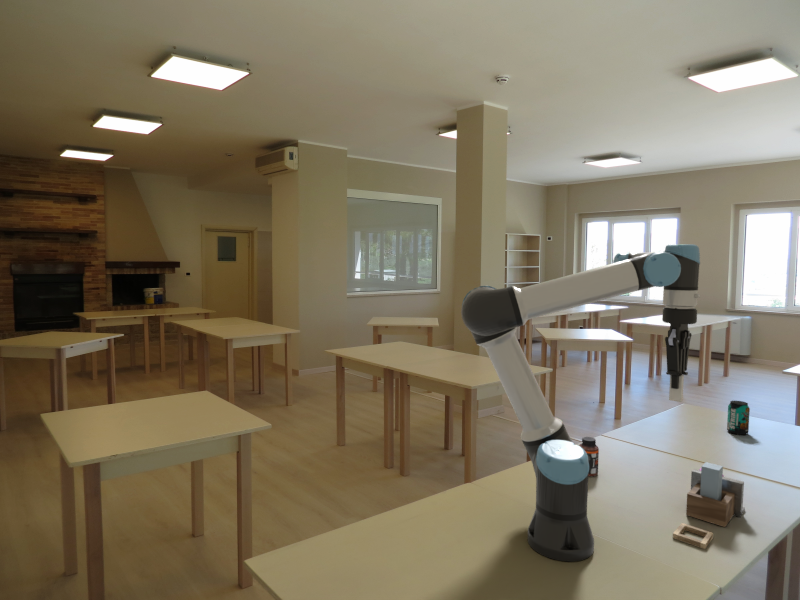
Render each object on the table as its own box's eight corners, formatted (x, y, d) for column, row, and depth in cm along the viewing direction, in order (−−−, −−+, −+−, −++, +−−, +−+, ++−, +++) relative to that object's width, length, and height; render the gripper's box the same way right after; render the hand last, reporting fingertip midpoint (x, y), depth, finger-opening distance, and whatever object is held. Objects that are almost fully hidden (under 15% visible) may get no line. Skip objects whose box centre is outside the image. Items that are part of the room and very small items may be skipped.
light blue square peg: (716, 515, 135) (718, 470, 134) (699, 510, 138) (701, 466, 137) (720, 510, 138) (722, 466, 137) (703, 505, 141) (705, 461, 140)
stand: (705, 549, 122) (705, 544, 122) (672, 538, 127) (673, 533, 127) (713, 537, 127) (713, 533, 127) (681, 527, 132) (681, 522, 132)
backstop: (740, 517, 137) (742, 484, 136) (690, 502, 145) (691, 471, 145) (744, 510, 141) (746, 478, 140) (695, 496, 149) (696, 465, 148)
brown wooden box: (725, 527, 132) (726, 505, 131) (686, 515, 138) (687, 493, 137) (733, 514, 138) (734, 493, 138) (696, 503, 144) (696, 483, 144)
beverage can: (752, 435, 200) (754, 405, 199) (734, 435, 200) (735, 405, 199) (740, 429, 207) (742, 400, 206) (722, 429, 207) (724, 400, 206)
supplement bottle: (599, 478, 161) (600, 442, 160) (579, 476, 163) (580, 441, 162) (596, 470, 167) (597, 436, 166) (577, 469, 168) (577, 434, 167)
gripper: (688, 309, 121) (684, 409, 123) (704, 306, 131) (699, 398, 133) (654, 307, 127) (650, 402, 129) (672, 304, 136) (668, 393, 138)
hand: (675, 400), depth 131 cm, fingers closed
